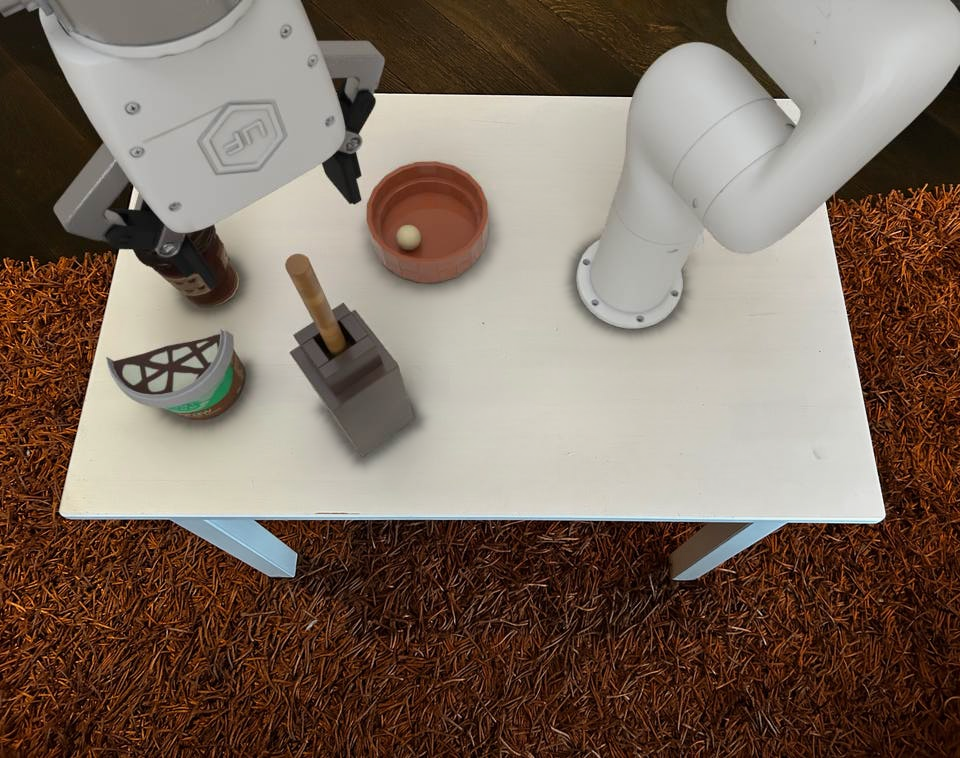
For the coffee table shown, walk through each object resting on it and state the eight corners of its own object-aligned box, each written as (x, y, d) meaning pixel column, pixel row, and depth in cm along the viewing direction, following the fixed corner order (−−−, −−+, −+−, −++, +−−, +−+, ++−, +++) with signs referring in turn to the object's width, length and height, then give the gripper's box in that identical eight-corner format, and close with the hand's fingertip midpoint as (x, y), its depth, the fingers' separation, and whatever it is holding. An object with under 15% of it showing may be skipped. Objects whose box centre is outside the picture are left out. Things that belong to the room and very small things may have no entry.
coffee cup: (233, 324, 76) (187, 266, 64) (166, 311, 77) (107, 252, 65) (257, 261, 79) (217, 194, 67) (192, 249, 80) (141, 181, 68)
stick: (346, 347, 58) (301, 248, 43) (356, 360, 57) (314, 265, 42) (331, 357, 57) (280, 261, 42) (341, 370, 57) (293, 278, 42)
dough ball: (412, 229, 80) (410, 215, 77) (426, 246, 79) (425, 232, 77) (392, 242, 80) (389, 228, 77) (406, 259, 79) (404, 245, 76)
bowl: (442, 169, 84) (440, 142, 80) (510, 243, 80) (512, 220, 76) (350, 225, 81) (342, 200, 76) (416, 306, 77) (413, 285, 72)
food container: (154, 443, 71) (105, 415, 62) (148, 392, 73) (100, 358, 64) (266, 413, 72) (235, 381, 63) (257, 364, 74) (226, 326, 65)
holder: (379, 373, 74) (346, 287, 55) (415, 420, 72) (393, 347, 53) (327, 409, 72) (275, 332, 54) (362, 457, 71) (321, 396, 52)
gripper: (-62, 130, 20) (174, 353, 36) (403, -92, 24) (429, 198, 40) (-144, -11, 22) (114, 259, 38) (295, -194, 26) (362, 120, 42)
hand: (275, 227), depth 39 cm, fingers open, 9 cm apart
